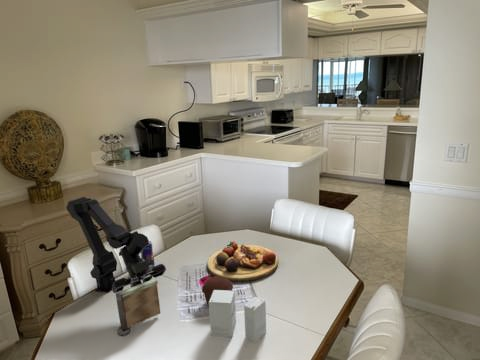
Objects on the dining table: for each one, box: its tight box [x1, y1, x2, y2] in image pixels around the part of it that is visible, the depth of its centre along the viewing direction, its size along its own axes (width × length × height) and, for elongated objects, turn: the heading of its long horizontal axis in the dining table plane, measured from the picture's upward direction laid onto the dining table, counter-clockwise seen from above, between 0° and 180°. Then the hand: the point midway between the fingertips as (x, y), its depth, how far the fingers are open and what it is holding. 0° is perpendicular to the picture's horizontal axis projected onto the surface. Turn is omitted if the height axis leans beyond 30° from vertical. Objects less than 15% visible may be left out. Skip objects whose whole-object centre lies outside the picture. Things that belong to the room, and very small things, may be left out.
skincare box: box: [243, 296, 267, 343], centre depth 114 cm, size 6×4×12 cm
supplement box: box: [208, 290, 237, 338], centre depth 118 cm, size 7×7×13 cm
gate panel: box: [115, 278, 161, 330], centre depth 122 cm, size 14×2×13 cm, turn 127°
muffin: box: [201, 275, 234, 308], centre depth 132 cm, size 12×11×10 cm
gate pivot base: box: [116, 326, 132, 337], centre depth 120 cm, size 4×4×1 cm
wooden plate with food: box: [206, 240, 279, 283], centre depth 161 cm, size 32×32×8 cm
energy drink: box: [140, 240, 156, 271], centre depth 161 cm, size 5×5×12 cm
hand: (148, 300), depth 126 cm, fingers closed
